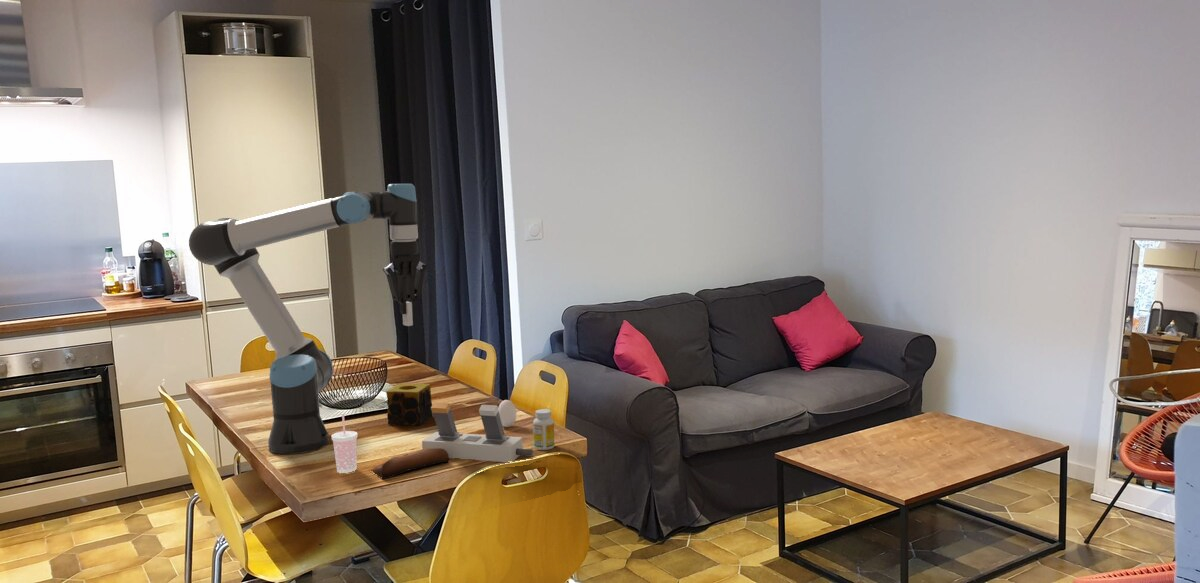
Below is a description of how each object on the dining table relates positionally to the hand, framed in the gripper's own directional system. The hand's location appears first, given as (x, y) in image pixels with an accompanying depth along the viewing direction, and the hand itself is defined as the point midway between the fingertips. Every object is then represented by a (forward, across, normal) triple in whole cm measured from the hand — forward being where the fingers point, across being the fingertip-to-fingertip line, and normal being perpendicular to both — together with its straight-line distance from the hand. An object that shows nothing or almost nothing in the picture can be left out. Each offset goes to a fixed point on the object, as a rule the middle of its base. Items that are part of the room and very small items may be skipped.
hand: (407, 325), depth 251 cm
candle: (+30, -3, -6) cm, 30 cm away
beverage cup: (+30, +31, +20) cm, 47 cm away
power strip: (+29, +2, +35) cm, 45 cm away
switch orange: (+24, +6, +28) cm, 37 cm away
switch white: (+24, 0, +39) cm, 45 cm away
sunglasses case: (+30, +19, +30) cm, 46 cm away
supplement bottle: (+29, -13, +42) cm, 53 cm away
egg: (+29, -18, +20) cm, 40 cm away
